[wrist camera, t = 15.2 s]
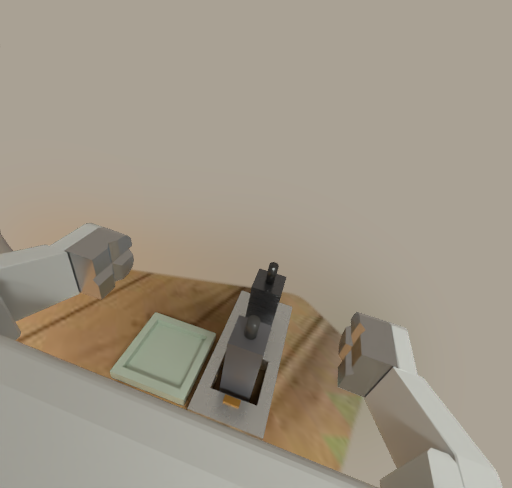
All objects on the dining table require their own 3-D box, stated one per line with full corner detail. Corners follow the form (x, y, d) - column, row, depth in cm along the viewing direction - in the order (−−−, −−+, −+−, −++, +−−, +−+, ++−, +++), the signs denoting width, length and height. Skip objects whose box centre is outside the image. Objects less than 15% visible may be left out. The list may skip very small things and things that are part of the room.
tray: (183, 406, 33) (183, 400, 32) (111, 377, 34) (109, 371, 34) (215, 339, 41) (216, 333, 40) (155, 318, 42) (155, 312, 42)
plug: (248, 403, 35) (267, 342, 27) (218, 392, 35) (229, 329, 27) (256, 374, 38) (276, 312, 30) (229, 365, 38) (241, 301, 31)
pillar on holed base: (259, 446, 31) (287, 386, 23) (186, 418, 32) (189, 351, 24) (288, 316, 47) (311, 253, 39) (240, 300, 48) (252, 236, 40)
